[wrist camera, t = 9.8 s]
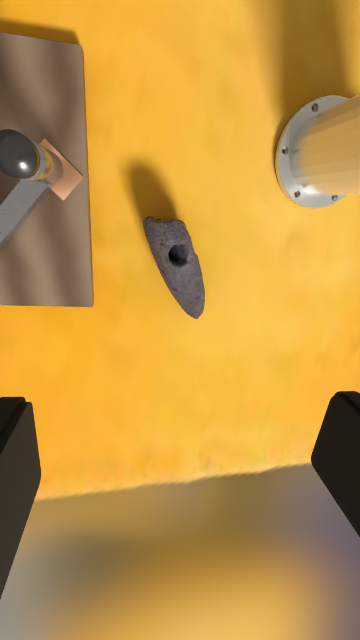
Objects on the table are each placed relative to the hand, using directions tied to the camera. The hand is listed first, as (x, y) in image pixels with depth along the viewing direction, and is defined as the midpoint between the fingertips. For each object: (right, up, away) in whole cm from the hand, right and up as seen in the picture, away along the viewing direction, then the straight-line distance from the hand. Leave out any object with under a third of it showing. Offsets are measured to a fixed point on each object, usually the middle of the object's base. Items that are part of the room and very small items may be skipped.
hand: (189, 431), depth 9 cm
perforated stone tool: (-1, +11, +32) cm, 34 cm away
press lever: (-21, +14, +25) cm, 35 cm away
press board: (-21, +19, +25) cm, 38 cm away
